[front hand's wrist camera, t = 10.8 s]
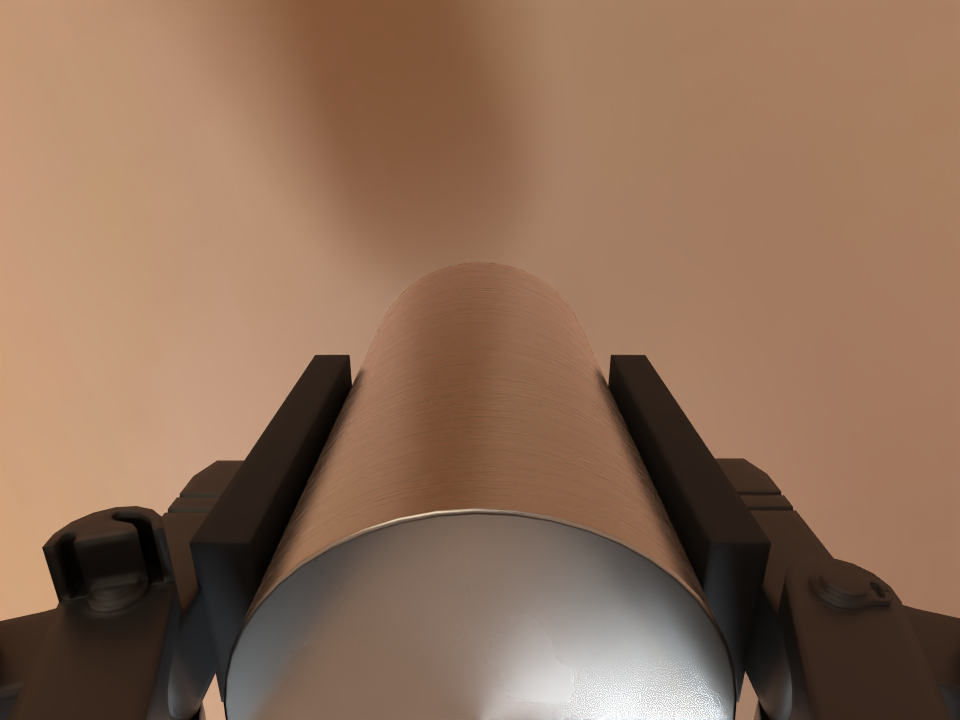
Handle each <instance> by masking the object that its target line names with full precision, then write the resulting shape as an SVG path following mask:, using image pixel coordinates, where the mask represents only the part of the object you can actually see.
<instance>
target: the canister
mask: <svg viewBox="0 0 960 720" xmlns="http://www.w3.org/2000/svg"><path fill="white" fill-rule="evenodd" d="M736 702H737V687H736V677H735V668H734V664H733V661H732V657H731V654H730V650H729V647H728V643H727V641H726V639H725V637H724V635H723V633H722V630H721V628H720V626H719V624H718V622H717V620H716V618H715V615H714V613H713V611H712V609H711V607H710V605H709V602H708V600H707V598H706V596H705V594H704V592H703V590H702V587H701V585H700V583H699V581H698V579H697V577H696V574H695V572H694V570H693V568H692V566H691V564H690V562H689V559H688V557H687V555H686V553H685V551H684V549H683V546H682V544H681V542H680V540H679V538H678V536H677V534H676V531H675V529H674V527H673V525H672V523H671V521H670V518H669V516H668V514H667V512H666V510H665V508H664V506H663V503H662V501H661V499H660V497H659V495H658V493H657V490H656V488H655V486H654V484H653V482H652V480H651V477H650V475H649V473H648V471H647V469H646V467H645V465H644V462H643V460H642V458H641V456H640V454H639V452H638V449H637V447H636V445H635V443H634V441H633V439H632V437H631V434H630V432H629V430H628V428H627V426H626V424H625V421H624V419H623V417H622V415H621V413H620V411H619V409H618V406H617V404H616V402H615V400H614V398H613V396H612V393H611V391H610V389H609V387H608V385H607V383H606V381H605V378H604V376H603V374H602V372H601V370H600V368H599V365H598V363H597V361H596V359H595V357H594V355H593V353H592V350H591V348H590V346H589V344H588V342H587V340H586V337H585V335H584V333H583V331H582V329H581V327H580V325H579V323H578V320H577V318H576V316H575V315H574V313H573V312H572V310H571V309H570V307H569V306H568V304H567V303H566V302H565V301H564V300H563V298H562V297H561V296H560V295H559V294H558V293H557V292H556V291H555V290H553V289H552V288H551V287H550V286H549V285H547V284H546V283H544V282H543V281H541V280H540V279H538V278H537V277H535V276H533V275H531V274H529V273H527V272H524V271H522V270H519V269H516V268H513V267H510V266H506V265H500V264H495V263H479V262H478V263H466V264H459V265H455V266H450V267H447V268H444V269H441V270H438V271H435V272H433V273H431V274H429V275H427V276H425V277H424V278H422V279H420V280H419V281H417V282H416V283H414V284H413V285H412V286H410V287H409V288H408V289H407V290H406V291H405V292H403V293H402V294H401V295H400V296H399V297H398V299H397V300H396V301H395V302H394V303H393V305H392V306H391V307H390V309H389V310H388V312H387V314H386V315H385V317H384V318H383V320H382V323H381V325H380V327H379V329H378V331H377V333H376V336H375V338H374V340H373V342H372V344H371V346H370V349H369V351H368V353H367V355H366V357H365V359H364V361H363V364H362V366H361V368H360V370H359V372H358V374H357V377H356V379H355V381H354V383H353V385H352V387H351V390H350V392H349V394H348V396H347V398H346V400H345V402H344V405H343V407H342V409H341V411H340V413H339V415H338V418H337V420H336V422H335V424H334V426H333V428H332V431H331V433H330V435H329V437H328V439H327V441H326V443H325V446H324V448H323V450H322V452H321V454H320V456H319V459H318V461H317V463H316V465H315V467H314V469H313V472H312V474H311V476H310V478H309V480H308V482H307V484H306V487H305V489H304V491H303V493H302V495H301V497H300V500H299V502H298V504H297V506H296V508H295V510H294V513H293V515H292V517H291V519H290V521H289V523H288V526H287V528H286V530H285V532H284V534H283V536H282V538H281V541H280V543H279V545H278V547H277V549H276V551H275V554H274V556H273V558H272V560H271V562H270V564H269V567H268V569H267V571H266V573H265V575H264V577H263V579H262V582H261V584H260V586H259V588H258V590H257V592H256V595H255V597H254V599H253V601H252V603H251V605H250V608H249V610H248V612H247V614H246V616H245V618H244V620H243V623H242V625H241V627H240V629H239V632H238V634H237V636H236V639H235V641H234V643H233V646H232V648H231V650H230V654H229V659H228V663H227V667H226V672H225V678H224V709H225V717H226V720H735V713H736Z"/></svg>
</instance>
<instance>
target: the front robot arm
mask: <svg viewBox="0 0 960 720" xmlns="http://www.w3.org/2000/svg"><path fill="white" fill-rule="evenodd" d="M351 387H352V380H351V368H350V355H315V356H314V358H313V359H312V361H311V362H310V364H309V365H308V367H307V368H306V370H305V371H304V373H303V374H302V376H301V377H300V379H299V380H298V382H297V383H296V385H295V386H294V388H293V389H292V391H291V392H290V394H289V395H288V397H287V398H286V399H285V401H284V402H283V404H282V405H281V407H280V408H279V410H278V411H277V413H276V414H275V416H274V417H273V419H272V420H271V422H270V423H269V425H268V426H267V428H266V429H265V431H264V432H263V434H262V435H261V437H260V438H259V440H258V441H257V443H256V444H255V446H254V447H253V449H252V450H251V452H250V453H249V455H248V456H247V458H246V459H245V461H216V462H214V463H213V464H211V465H210V466H208V467H207V468H205V469H204V470H202V471H201V472H199V473H198V474H196V475H195V476H193V478H192V479H191V480H190V481H189V483H188V484H187V485H186V487H185V488H184V489H183V490H182V492H181V493H180V497H179V498H176V499H175V501H174V502H173V503H172V505H171V506H170V507H169V508H168V513H164V515H163V516H162V517H161V516H160V515H159V514H157V513H156V512H155V511H154V510H152V509H148V508H143V507H138V506H130V507H115V508H111V509H107V510H103V511H99V512H95V513H92V514H89V515H87V516H85V517H82V518H80V519H78V520H75V521H73V522H71V523H69V524H68V525H67V526H65V527H64V528H62V529H61V530H59V531H58V532H56V533H55V534H53V535H52V537H51V538H50V539H49V540H48V541H47V543H46V544H45V545H44V546H43V547H42V548H43V551H44V555H45V558H46V561H47V564H48V568H49V571H50V574H51V577H52V581H53V584H54V587H55V590H56V594H57V597H58V600H59V604H58V606H57V608H56V609H52V610H48V611H45V612H40V613H36V614H31V615H27V616H22V617H17V618H13V619H8V620H4V621H0V720H206V717H205V711H204V707H203V702H202V701H203V699H204V697H205V694H206V692H207V690H208V688H209V686H210V684H211V682H212V680H213V677H214V675H215V673H216V677H217V682H218V687H219V691H220V696H221V701H222V702H224V678H225V672H226V667H227V663H228V659H229V654H230V650H231V648H232V646H233V643H234V641H235V639H236V636H237V634H238V632H239V629H240V627H241V625H242V623H243V620H244V618H245V616H246V614H247V612H248V610H249V608H250V605H251V603H252V601H253V599H254V597H255V595H256V592H257V590H258V588H259V586H260V584H261V582H262V579H263V577H264V575H265V573H266V571H267V569H268V567H269V564H270V562H271V560H272V558H273V556H274V554H275V551H276V549H277V547H278V545H279V543H280V541H281V538H282V536H283V534H284V532H285V530H286V528H287V526H288V523H289V521H290V519H291V517H292V515H293V513H294V510H295V508H296V506H297V504H298V502H299V500H300V497H301V495H302V493H303V491H304V489H305V487H306V484H307V482H308V480H309V478H310V476H311V474H312V472H313V469H314V467H315V465H316V463H317V461H318V459H319V456H320V454H321V452H322V450H323V448H324V446H325V443H326V441H327V439H328V437H329V435H330V433H331V431H332V428H333V426H334V424H335V422H336V420H337V418H338V415H339V413H340V411H341V409H342V407H343V405H344V402H345V400H346V398H347V396H348V394H349V392H350V390H351ZM608 387H609V389H610V391H611V393H612V396H613V398H614V400H615V402H616V404H617V406H618V409H619V411H620V413H621V415H622V417H623V419H624V421H625V424H626V426H627V428H628V430H629V432H630V434H631V437H632V439H633V441H634V443H635V445H636V447H637V449H638V452H639V454H640V456H641V458H642V460H643V462H644V465H645V467H646V469H647V471H648V473H649V475H650V477H651V480H652V482H653V484H654V486H655V488H656V490H657V493H658V495H659V497H660V499H661V501H662V503H663V506H664V508H665V510H666V512H667V514H668V516H669V518H670V521H671V523H672V525H673V527H674V529H675V531H676V534H677V536H678V538H679V540H680V542H681V544H682V546H683V549H684V551H685V553H686V555H687V557H688V559H689V562H690V564H691V566H692V568H693V570H694V572H695V574H696V577H697V579H698V581H699V583H700V585H701V587H702V590H703V592H704V594H705V596H706V598H707V600H708V602H709V605H710V607H711V609H712V611H713V613H714V615H715V618H716V620H717V622H718V624H719V626H720V628H721V630H722V633H723V635H724V637H725V639H726V641H727V643H728V647H729V650H730V654H731V657H732V661H733V664H734V668H735V677H736V687H737V702H739V698H740V694H741V689H742V684H743V679H744V674H745V671H746V673H747V675H748V677H749V680H750V682H751V684H752V686H753V688H754V690H755V692H756V694H757V697H758V702H757V707H756V711H755V716H754V720H960V618H956V617H951V616H946V615H942V614H937V613H932V612H928V611H923V610H919V609H915V608H911V607H908V606H904V605H902V602H901V601H900V599H899V598H898V596H897V595H896V594H895V592H894V591H893V590H892V588H891V587H890V586H889V585H887V584H886V583H885V582H884V581H882V580H881V579H880V578H878V577H877V576H876V575H875V574H873V573H871V572H869V571H867V570H865V569H863V568H861V567H859V566H857V565H855V564H852V563H848V562H845V561H841V560H838V559H834V558H833V557H832V556H831V555H830V553H829V552H828V551H827V549H826V548H825V547H824V546H823V544H822V543H821V542H820V541H819V539H818V538H817V537H816V535H815V534H814V533H813V532H812V530H811V529H810V528H809V527H808V525H807V524H806V523H805V521H804V520H803V519H802V518H801V516H800V515H799V514H798V513H797V511H793V506H792V505H791V504H790V502H789V501H788V500H787V499H786V497H785V496H784V495H781V491H780V490H779V488H778V487H777V486H776V485H775V483H774V482H773V481H772V480H771V478H770V477H769V476H768V475H767V474H766V473H765V472H763V471H762V470H760V469H759V468H757V467H756V466H754V465H753V464H751V463H749V462H748V461H746V460H745V459H715V458H714V457H713V455H712V454H711V452H710V451H709V449H708V448H707V446H706V445H705V444H704V442H703V441H702V439H701V438H700V436H699V435H698V433H697V432H696V430H695V429H694V427H693V426H692V424H691V423H690V421H689V420H688V418H687V417H686V415H685V414H684V412H683V411H682V409H681V408H680V406H679V405H678V403H677V402H676V400H675V399H674V397H673V396H672V394H671V393H670V391H669V390H668V388H667V387H666V385H665V384H664V382H663V381H662V380H661V378H660V377H659V375H658V374H657V372H656V371H655V369H654V368H653V366H652V365H651V363H650V362H649V360H648V359H647V357H646V356H645V355H611V361H610V373H609V385H608Z"/></svg>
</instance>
